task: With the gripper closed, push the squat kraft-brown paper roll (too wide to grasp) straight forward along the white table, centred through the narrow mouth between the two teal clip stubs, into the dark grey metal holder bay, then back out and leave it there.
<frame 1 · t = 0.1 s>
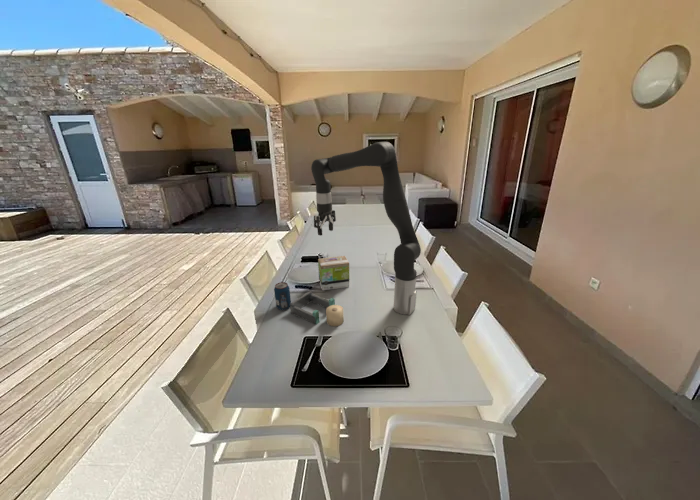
hand: (325, 232, 146), 29 cm above the table, fingers open, 8 cm apart
holder: (313, 311, 133), on the table
paper roll: (335, 321, 126), on the table
tea box: (334, 285, 155), on the table
soda can: (284, 307, 137), on the table
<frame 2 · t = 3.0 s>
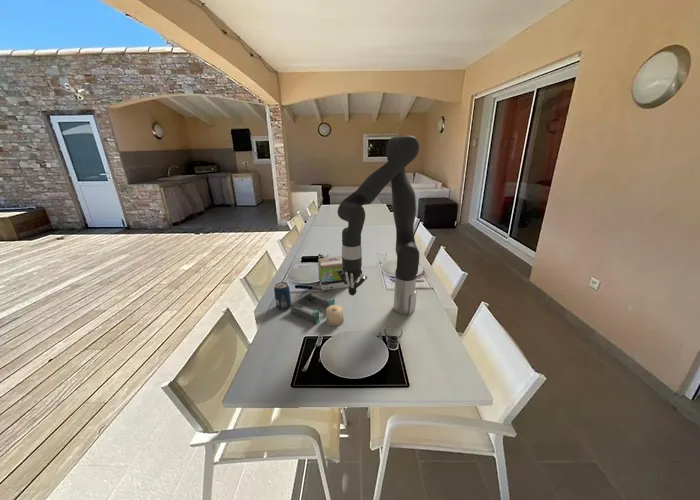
hand: (352, 294, 114), 17 cm above the table, fingers closed
nothing on the table moved.
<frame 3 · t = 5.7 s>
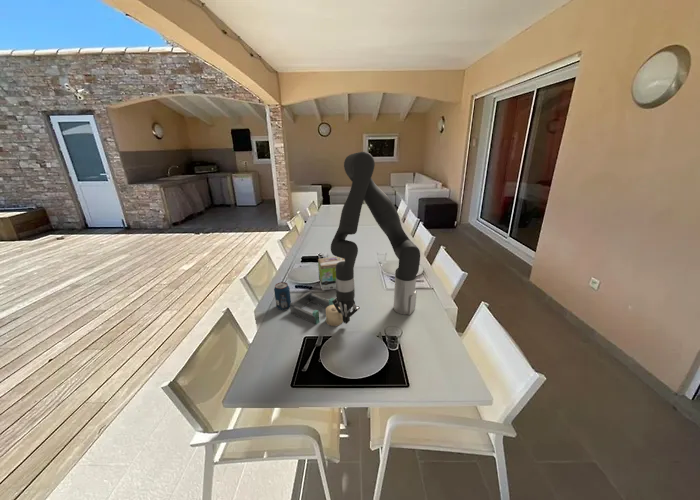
hand: (346, 322, 122), 2 cm above the table, fingers closed
paper roll: (334, 320, 126), on the table, touching gripper
everything else where it was.
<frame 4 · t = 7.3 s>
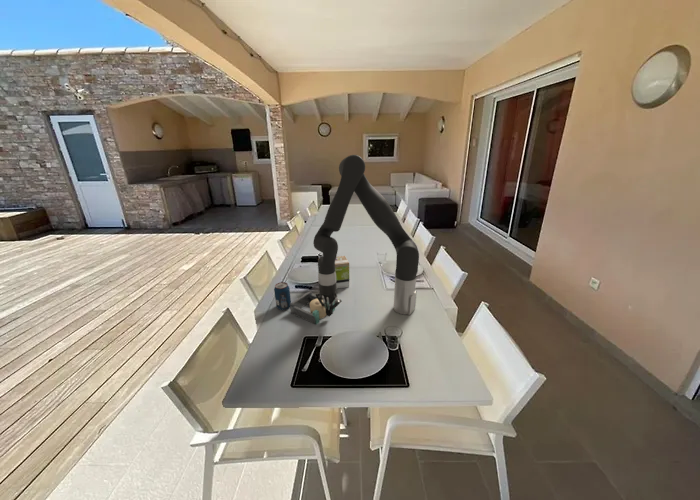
hand: (329, 315, 127), 2 cm above the table, fingers closed
paper roll: (318, 314, 131), on the table, touching gripper
everything else where it was.
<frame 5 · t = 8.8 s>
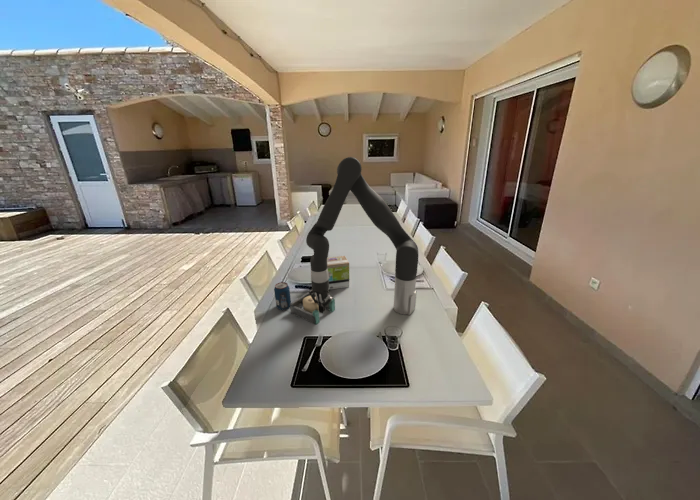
hand: (322, 311, 129), 2 cm above the table, fingers closed
paper roll: (311, 310, 133), on the table, touching gripper
everything else where it was.
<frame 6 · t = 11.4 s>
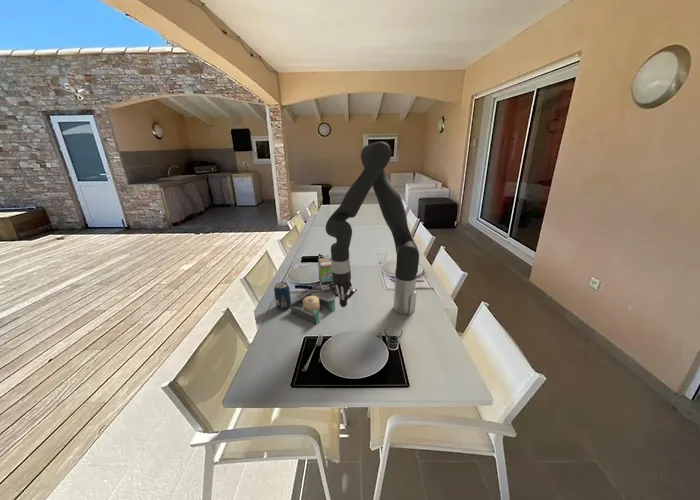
hand: (343, 306, 119), 10 cm above the table, fingers closed
paper roll: (311, 311, 133), on the table
everything else where it was.
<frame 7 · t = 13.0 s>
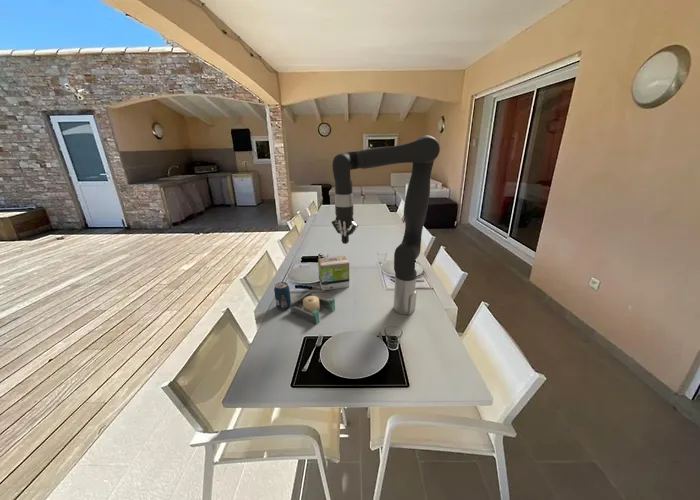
hand: (345, 243, 125), 32 cm above the table, fingers closed
nothing on the table moved.
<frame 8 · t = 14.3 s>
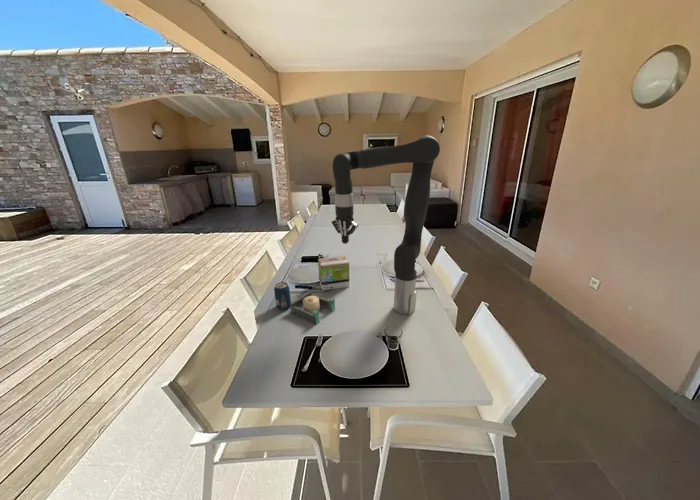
hand: (345, 242, 125), 32 cm above the table, fingers closed
nothing on the table moved.
at the end: paper roll 0.6 cm off-centre on the holder, point 0.0 cm above the holder's base; paper roll tilted 0°; the gripper is holding nothing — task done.
